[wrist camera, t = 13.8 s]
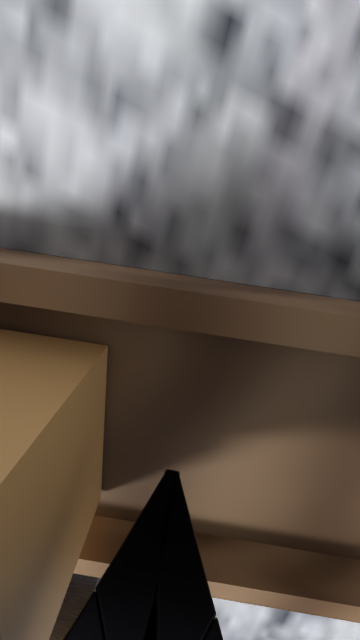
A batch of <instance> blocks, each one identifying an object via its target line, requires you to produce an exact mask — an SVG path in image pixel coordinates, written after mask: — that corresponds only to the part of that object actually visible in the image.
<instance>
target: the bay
mask: <svg viewBox="0 0 360 640" xmlns="http://www.w3.org/2000/svg"><path fill="white" fill-rule="evenodd" d="M0 329H4V330H10V331H17V332H23V333H30V334H36V335H42V336H49V337H55V338H62V339H68V340H75V341H81V342H87V343H94V344H100V345H107V346H108V353H107V375H106V397H105V419H104V441H103V463H102V485H101V498H100V501H99V504H98V507H97V509H96V512H95V515H94V518H93V520H92V523H91V526H90V529H89V531H88V534H87V537H86V539H85V542H84V545H83V548H82V550H81V553H80V556H79V559H78V561H77V564H76V567H75V570H74V572H73V573H74V574H80V575H86V576H92V577H98V578H101V577H102V576H103V574H104V573H105V571H106V569H107V568H108V566H109V564H110V563H111V561H112V559H113V558H114V556H115V554H116V553H117V551H118V549H119V548H120V546H121V544H122V543H123V541H124V540H125V538H126V536H127V535H128V533H129V531H130V530H131V528H132V526H133V525H134V523H135V521H136V520H137V518H138V516H139V515H140V513H141V511H142V510H143V508H144V507H145V505H146V503H147V502H148V500H149V498H150V497H151V495H152V493H153V492H154V490H155V488H156V487H157V485H158V483H159V482H160V480H161V478H162V477H163V475H164V473H165V470H166V469H170V470H176V471H179V472H180V479H181V483H182V487H183V491H184V494H185V498H186V502H187V506H188V509H189V513H190V517H191V521H192V525H193V528H194V532H195V536H196V540H197V544H198V547H199V551H200V555H201V559H202V562H203V566H204V570H205V574H206V578H207V581H208V585H209V589H210V593H211V596H212V597H213V598H219V599H224V600H230V601H236V602H242V603H248V604H253V605H259V606H265V607H271V608H276V609H282V610H288V611H294V612H299V613H305V614H311V615H317V616H323V617H328V618H334V619H340V620H346V621H351V622H357V623H360V302H359V301H352V300H345V299H339V298H332V297H325V296H319V295H312V294H305V293H299V292H292V291H286V290H279V289H272V288H266V287H259V286H252V285H246V284H239V283H232V282H226V281H219V280H212V279H206V278H199V277H192V276H186V275H179V274H172V273H166V272H159V271H152V270H146V269H139V268H132V267H126V266H119V265H112V264H106V263H99V262H92V261H86V260H79V259H72V258H66V257H59V256H52V255H46V254H39V253H32V252H26V251H19V250H12V249H6V248H0Z"/></svg>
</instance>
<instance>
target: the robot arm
mask: <svg viewBox="0 0 360 640" xmlns="http://www.w3.org/2000/svg"><path fill="white" fill-rule="evenodd" d="M215 616H216V612H215V608H214V604H213V600H212V596H211V593H210V589H209V585H208V581H207V578H206V574H205V570H204V566H203V562H202V559H201V555H200V551H199V547H198V544H197V540H196V536H195V532H194V528H193V525H192V521H191V517H190V513H189V509H188V506H187V502H186V498H185V494H184V491H183V487H182V483H181V479H180V472H179V471H176V470H170V469H166V470H165V473H164V475H163V477H162V478H161V480H160V482H159V483H158V485H157V487H156V488H155V490H154V492H153V493H152V495H151V497H150V498H149V500H148V502H147V503H146V505H145V507H144V508H143V510H142V511H141V513H140V515H139V516H138V518H137V520H136V521H135V523H134V525H133V526H132V528H131V530H130V531H129V533H128V535H127V536H126V538H125V540H124V541H123V543H122V544H121V546H120V548H119V549H118V551H117V553H116V554H115V556H114V558H113V559H112V561H111V563H110V564H109V566H108V568H107V569H106V571H105V573H104V574H103V576H102V577H101V579H100V581H99V582H98V584H97V586H96V588H95V591H93V592H92V594H91V595H90V597H89V599H88V600H87V602H86V603H85V605H84V607H83V608H82V610H81V612H80V613H79V615H78V616H77V618H76V619H75V621H74V623H73V624H72V626H71V627H70V629H69V630H68V632H67V634H66V635H65V637H64V638H63V640H223V637H222V634H221V630H220V626H219V622H218V619H217V618H215Z"/></svg>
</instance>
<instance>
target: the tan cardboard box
mask: <svg viewBox="0 0 360 640" xmlns="http://www.w3.org/2000/svg"><path fill="white" fill-rule="evenodd" d="M107 353H108V346H107V345H100V344H94V343H87V342H81V341H75V340H68V339H62V338H55V337H49V336H42V335H36V334H30V333H23V332H17V331H10V330H4V329H0V640H49V638H50V636H51V633H52V630H53V627H54V625H55V622H56V619H57V616H58V614H59V611H60V608H61V605H62V603H63V600H64V597H65V594H66V592H67V589H68V586H69V583H70V581H71V578H72V575H73V572H74V570H75V567H76V564H77V561H78V559H79V556H80V553H81V550H82V548H83V545H84V542H85V539H86V537H87V534H88V531H89V529H90V526H91V523H92V520H93V518H94V515H95V512H96V509H97V507H98V504H99V501H100V498H101V485H102V463H103V441H104V419H105V397H106V375H107Z"/></svg>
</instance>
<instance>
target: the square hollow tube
mask: <svg viewBox="0 0 360 640" xmlns="http://www.w3.org/2000/svg"><path fill="white" fill-rule="evenodd" d="M100 579H101V578H98V577H92V576H86V575H80V574H74V573H73V575H72V578H71V581H70V583H69V586H68V589H67V592H66V594H65V597H64V600H63V603H62V605H61V608H60V611H59V614H58V616H57V619H56V622H55V625H54V627H53V630H52V633H51V636H50V638H49V640H63V638H64V637H65V635H66V634H67V632H68V630H69V629H70V627H71V626H72V624H73V623H74V621H75V619H76V618H77V616H78V615H79V613H80V612H81V610H82V608H83V607H84V605H85V603H86V602H87V600H88V599H89V597H90V595H91V594H92V592H93V591H95V588H96V586H97V584H98V582H99V581H100Z"/></svg>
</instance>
